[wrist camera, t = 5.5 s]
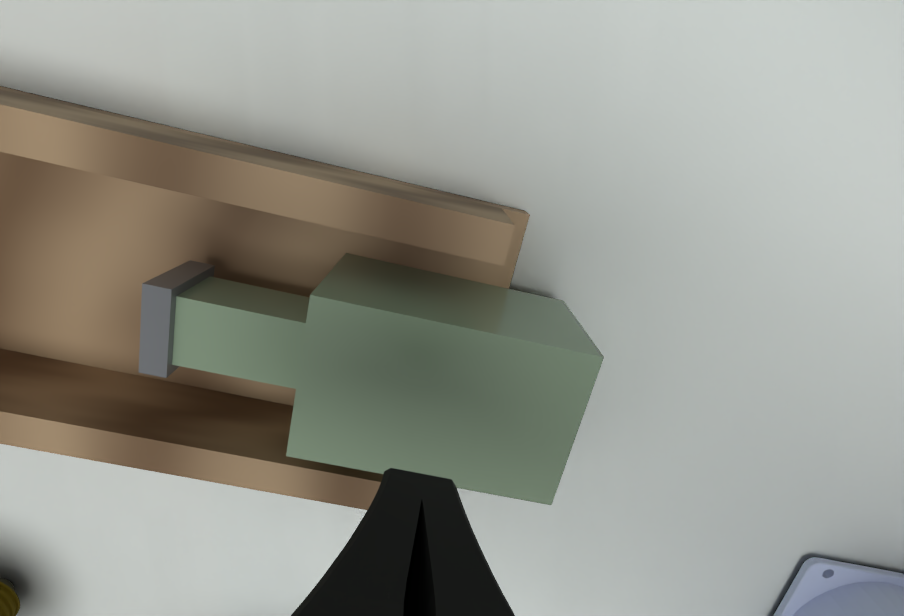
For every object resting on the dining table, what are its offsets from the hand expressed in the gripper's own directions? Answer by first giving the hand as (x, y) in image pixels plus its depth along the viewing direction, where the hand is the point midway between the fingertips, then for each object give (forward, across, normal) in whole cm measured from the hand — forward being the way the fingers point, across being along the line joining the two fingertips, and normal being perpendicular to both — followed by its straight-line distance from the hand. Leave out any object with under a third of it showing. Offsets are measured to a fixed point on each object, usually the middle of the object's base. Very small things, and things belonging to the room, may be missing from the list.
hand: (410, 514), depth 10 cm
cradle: (+10, +8, 0) cm, 13 cm away
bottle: (+7, -5, 0) cm, 8 cm away
